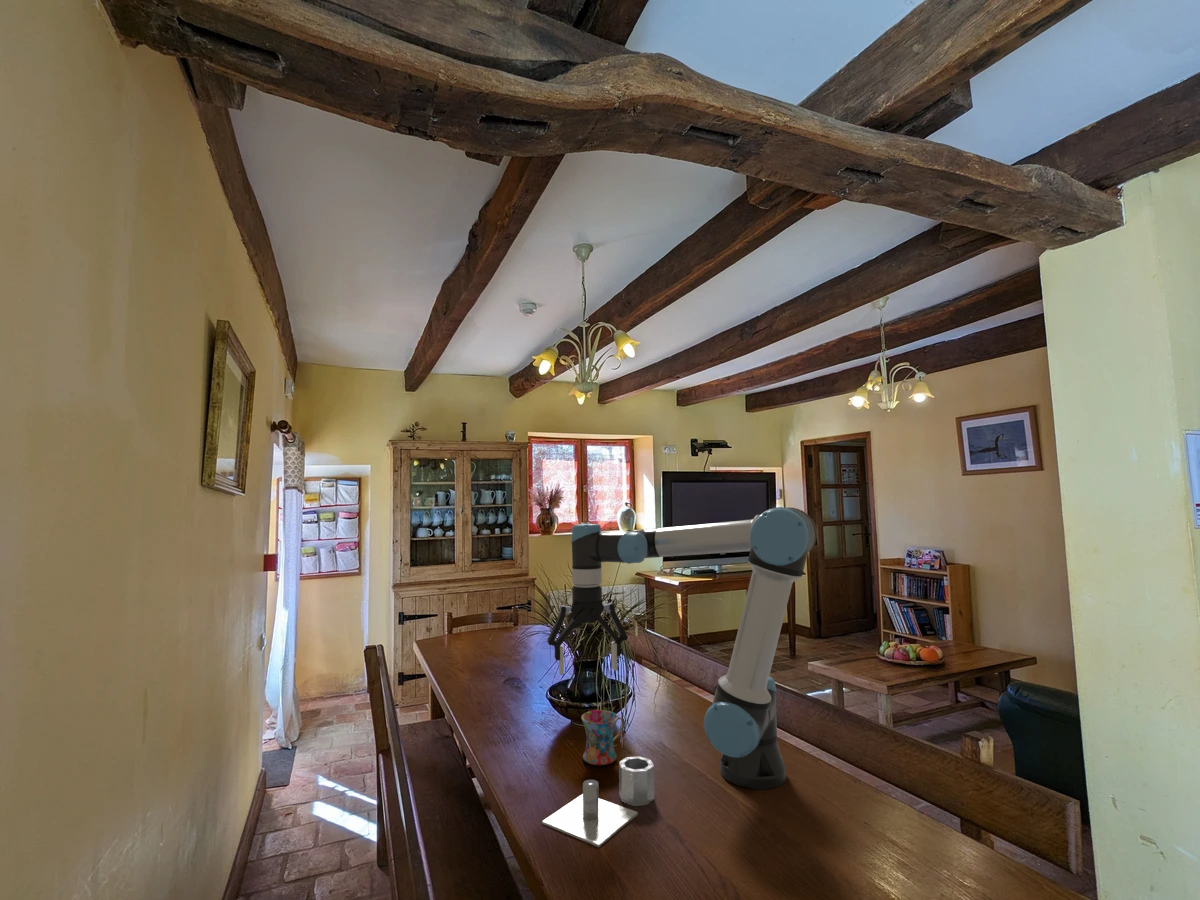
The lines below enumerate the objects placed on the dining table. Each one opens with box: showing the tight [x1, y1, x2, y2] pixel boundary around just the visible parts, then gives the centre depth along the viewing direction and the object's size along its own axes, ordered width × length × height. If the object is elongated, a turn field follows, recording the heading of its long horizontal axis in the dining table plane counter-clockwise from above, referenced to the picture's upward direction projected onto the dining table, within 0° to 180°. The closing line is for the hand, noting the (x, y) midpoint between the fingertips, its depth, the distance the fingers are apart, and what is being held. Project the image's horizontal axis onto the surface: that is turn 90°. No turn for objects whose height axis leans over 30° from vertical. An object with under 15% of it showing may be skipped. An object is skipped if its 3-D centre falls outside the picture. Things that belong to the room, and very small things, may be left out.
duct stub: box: [542, 779, 639, 848], centre depth 119 cm, size 14×14×7 cm
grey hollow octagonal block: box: [618, 755, 655, 807], centre depth 128 cm, size 7×7×7 cm
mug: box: [581, 709, 626, 766], centre depth 147 cm, size 12×9×11 cm
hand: (588, 671), depth 145 cm, fingers open, 13 cm apart
